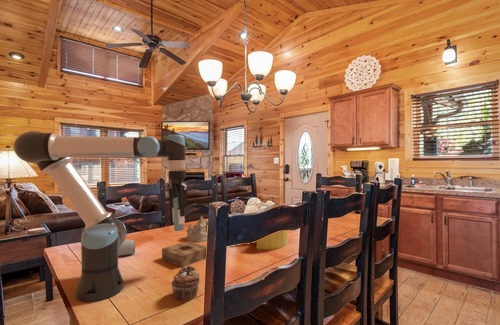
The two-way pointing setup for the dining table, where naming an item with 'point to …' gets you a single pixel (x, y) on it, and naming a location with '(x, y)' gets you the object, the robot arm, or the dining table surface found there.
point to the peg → (176, 216)
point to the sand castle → (198, 231)
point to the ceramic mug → (127, 248)
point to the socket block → (184, 253)
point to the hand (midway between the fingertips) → (178, 222)
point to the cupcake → (185, 284)
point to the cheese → (273, 241)
